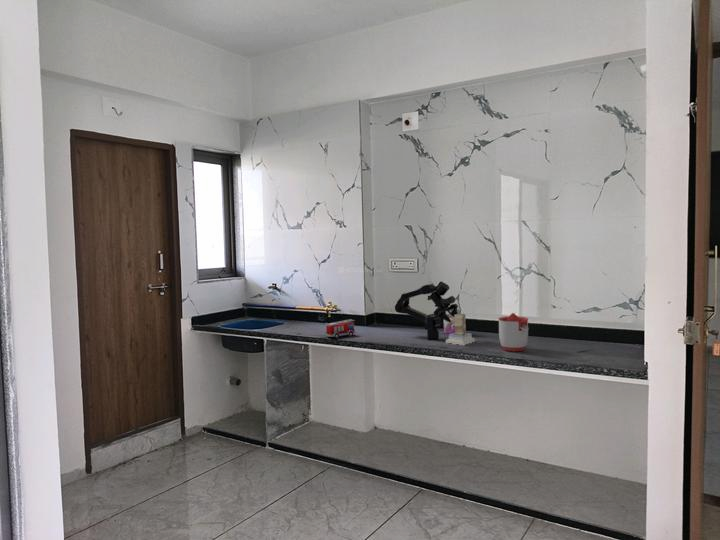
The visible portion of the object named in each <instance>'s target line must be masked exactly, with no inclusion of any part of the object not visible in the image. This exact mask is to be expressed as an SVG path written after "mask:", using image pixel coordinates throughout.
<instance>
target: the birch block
mask: <svg viewBox="0 0 720 540" xmlns="http://www.w3.org/2000/svg"><path fill="white" fill-rule="evenodd" d="M454 318H455V335H460V336H463V335H466V333H467V332H466V329H467V328H466V327H467V326H466V314H465V313H461V314H455V315H454Z"/></svg>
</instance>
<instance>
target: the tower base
mask: <svg viewBox="0 0 720 540" xmlns="http://www.w3.org/2000/svg"><path fill="white" fill-rule="evenodd" d="M472 335H473V334H472V333H467V332H466V335H463V336H460V335H455V333H453V334H448V338H447V339H445V344H448V343H452V344H451V345H456V344H459V345H458V346H466V344H467V345H469V343H470V344H473V343H475V341H476V339H475V338H474V337H473V336H472ZM472 342H473V343H472Z"/></svg>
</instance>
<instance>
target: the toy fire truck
mask: <svg viewBox="0 0 720 540" xmlns="http://www.w3.org/2000/svg"><path fill="white" fill-rule="evenodd" d="M354 321H356V320H355V319H352V318H350V319H345V320H341V321H335V322H334V321H333V322H329V323H325V325H326V328H325V329H326V332H325V336H328V337H329V338H330V337H331V338H332V337H333V338H334V339H336V338H337V339H339V338H340V336H347V335H348V337H350V336H351V337H353V336H354V334H356V333H357V332H356V330H355V328H354V327H355V322H354Z"/></svg>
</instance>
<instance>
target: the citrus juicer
mask: <svg viewBox="0 0 720 540" xmlns="http://www.w3.org/2000/svg"><path fill="white" fill-rule="evenodd" d="M498 338H499V342H500V345H501V348H502V350H503V351H506V352H507V351H509V352H512V351H513V353H515V352H521V351H525V350H526V347H527V344H528V338H529V318H528V317H524V316H517V315H516V314H515V313H514V312H512V313H510V315H509V316H501V317H498Z"/></svg>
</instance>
